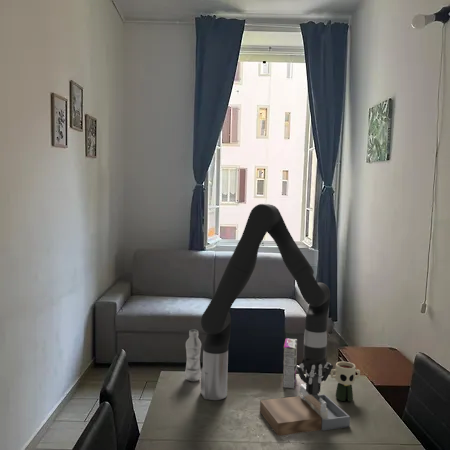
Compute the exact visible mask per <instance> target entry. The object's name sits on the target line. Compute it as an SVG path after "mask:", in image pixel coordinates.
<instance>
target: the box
mask: <svg viewBox="0 0 450 450" xmlns="http://www.w3.org/2000/svg"><path fill="white" fill-rule="evenodd" d="M318 396H319V397H321V398H322V399H323V400H324V401H325V402H326V403H327V404H326V408H327V409H328V418H327V419H323V418H322V417H321V416H320V415H319V414H318V413H317V412H316V411H315V410H314V409H313V408H312V407H311V406H310V405H309V404H308V403H307V402H306V401H305V400H304V396H303V395H302V396H300V397H301V398H302V399H303V400H304V401H305V402H306V403H307V404H308V405H309V406H310V407H311V408H312V409H313V410H314V411H315V412H316V413H317V414H318V415H319V416H320V417H321V418H322V425H321V430H320V431H323V432H324V431H330V430H338V429H344V428H351V426H350V425H351V416H350V414H348V413H347V412H345V410H344V409H342V408H341V407H340V406H339V405H337V404H336V403H335V402H334V401H333V400H332V399H331V398H330V397H329V396H328V395H326V394H325V393H324V394H322V393H321V394H318Z"/></svg>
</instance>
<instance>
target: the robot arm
mask: <svg viewBox="0 0 450 450" xmlns="http://www.w3.org/2000/svg"><path fill="white" fill-rule="evenodd" d="M246 220H247V221H246V223H245V225H244V229H243V232H242V234H241V237H240V239H239V241H238V243H237V245H236V246H235V249H234V250H233V252H232V255H231V257H230V259H229V261H228V263H227V265H226V267H225V270H224V272H223V274H222V276H221V278H220V280H219V283H218V286H217V288H216V291H215V294H214V295H213V296H212V299H211V300H210V302H209V303H208V304H207V306H206V309H205V310H204V312H203V314H202V315H201V319H200V325H201V328H202V330H203V332H204V333H205V334H206V336H205V339H204V340H203V345H202V346H203V347H202V367H200V369H201V377H200V394H201V395H202V398H203V400H210V401H220V400H224V399H225V398H227V396H228V371H229V370H228V366H229V365H228V364H229V344H230V340H231V331H232V330H231V329H232V317H231V313H230V310H231V308H232V306H233V304H234V302H235V301H236V300H237V298H238V297H239V296H240V294H241V293H242V292H243V290H244V289H245V287H246V286H247V284H248V282H249V281H250V278H251V277H252V274H253V272H254V270H255V268H256V264H257V259H258V252H259V248H260V246H261V243H262V241H263V240H264V237H265V236H266V235H267V234H268V235H269V236H270V237H271V239H272V240H273V242H274V243H275V244H276V247H277V248H278V250H279V253H280V256H281V258H282V261H283V263H284V265H285V267H286V269H288V271H289V273H290V274H291V276H292V277H293V279H294V280H295V283H296V285H297V288H298V291H300V292H299V293H300V295H301V297H302V298H303V300H304V301H305V303H306V304H308V305H309V307H308V308H309V309H308V310H307V312H306V315H305V326H304V333H303V334H304V335H303V351H302V353H303V354H302V355H303V356H302V361H301V363H300V364H299V365H298V364H296V366H295V368H296V373H297V374H298V376H299V378H300V381H302V382H303V384H306V391H307V393H308V394H309V395H311V394H312V378H313V377H314V374H315V375H316V376H317V377H318V395H320V392H321V388H322V387H321V386H322V385H321V384H322V382H326V380H327V379H328V377H329V376H330V375H331V370H332V369H333V368H334V365H333V364H331V362H329V361H328V362H327V359H326V358H327V347H328V346H327V345H328V338H327V337H328V336H327V330H328V329H327V325H328V324H327V323H328V320H327V318H328V313H329V307H330V303H331V290H330V288H329V286H328V285H327V284H326V283H323V282H317V280H316V277H315V276H314V274H315V271H314V269H313V267H312V266H311V264H310V263H309V261H308V260H307V258H306V256H305V255H304V253H303V252H302V250H301V249H300V248H299V246H298V245H297V243H296V242H295V241H296V240H294V238H293V236H292V234H291V233H290V231H289V229H288V227H287V225H286V223H285V220H284V218H283V216H282V214H281V212H280V210H279V209H278V207H276V206H275V205H273V204H270V203H258V204H256V205H255V206H254V207H253V208H252V209H251V211H250V212H249V215H248V217H247V219H246ZM304 369H305V374H304Z"/></svg>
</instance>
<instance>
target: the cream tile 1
mask: <svg viewBox="0 0 450 450" xmlns="http://www.w3.org/2000/svg"><path fill="white" fill-rule="evenodd" d="M304 400H305V401H306V402H307V403H308V404H309V405H310V406H311V407H312V408H313V409H314V406H313V405H312V404H311V403H310V402H309V401H308V400H307V399H306V398H305V397H304Z"/></svg>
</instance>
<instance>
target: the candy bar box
mask: <svg viewBox="0 0 450 450" xmlns="http://www.w3.org/2000/svg"><path fill="white" fill-rule="evenodd" d="M297 352H298V339H297V338H288V337H287V338H285V340H284V344H283V368H282V370H283V371H282V388H283V389H284V388H285V389H293V390H294V389H295V388H296V381H297V370H296V368H295V366H296V365H297V360H298V359H297V357H298V356H297V355H298V353H297Z"/></svg>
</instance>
